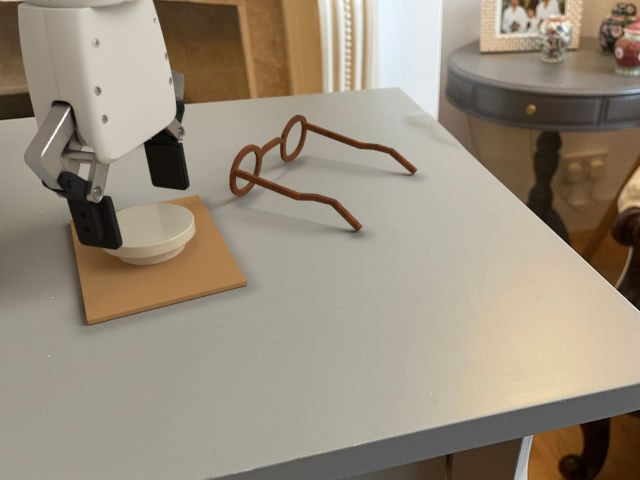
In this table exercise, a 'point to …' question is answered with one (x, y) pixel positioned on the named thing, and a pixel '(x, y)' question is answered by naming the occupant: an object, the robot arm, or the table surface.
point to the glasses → (274, 142)
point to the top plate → (153, 232)
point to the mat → (157, 272)
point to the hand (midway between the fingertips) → (139, 214)
